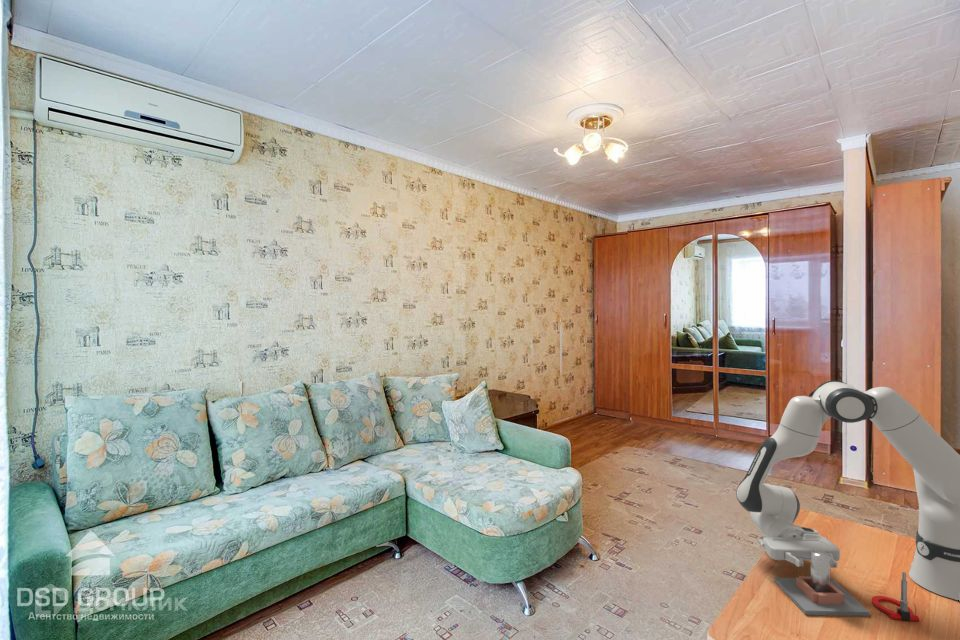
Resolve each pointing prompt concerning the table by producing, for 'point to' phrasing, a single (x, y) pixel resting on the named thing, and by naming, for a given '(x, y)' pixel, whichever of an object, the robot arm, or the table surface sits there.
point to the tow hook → (904, 610)
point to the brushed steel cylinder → (820, 571)
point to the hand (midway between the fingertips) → (817, 565)
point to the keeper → (821, 598)
